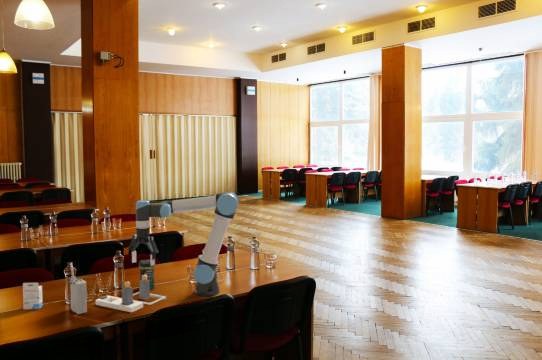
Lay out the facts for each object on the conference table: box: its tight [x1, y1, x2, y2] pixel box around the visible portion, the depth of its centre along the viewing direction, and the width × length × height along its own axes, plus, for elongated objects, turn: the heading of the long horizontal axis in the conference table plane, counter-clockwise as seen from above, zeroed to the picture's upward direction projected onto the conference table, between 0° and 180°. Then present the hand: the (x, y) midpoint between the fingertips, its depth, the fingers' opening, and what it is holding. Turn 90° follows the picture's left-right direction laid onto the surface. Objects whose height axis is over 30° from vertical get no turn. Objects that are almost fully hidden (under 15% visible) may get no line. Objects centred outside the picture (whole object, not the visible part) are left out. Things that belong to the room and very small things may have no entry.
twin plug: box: [121, 281, 134, 306], centre depth 253 cm, size 4×4×14 cm
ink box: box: [22, 282, 43, 310], centre depth 253 cm, size 8×5×15 cm, turn 96°
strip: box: [94, 295, 144, 313], centre depth 256 cm, size 26×9×4 cm, turn 64°
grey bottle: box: [138, 275, 151, 301], centre depth 268 cm, size 4×4×14 cm
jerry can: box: [69, 262, 88, 316], centre depth 249 cm, size 15×5×25 cm, turn 38°
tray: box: [133, 291, 167, 306], centre depth 268 cm, size 20×14×2 cm
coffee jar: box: [138, 259, 156, 291], centre depth 287 cm, size 10×8×19 cm
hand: (143, 263), depth 269 cm, fingers open, 13 cm apart
